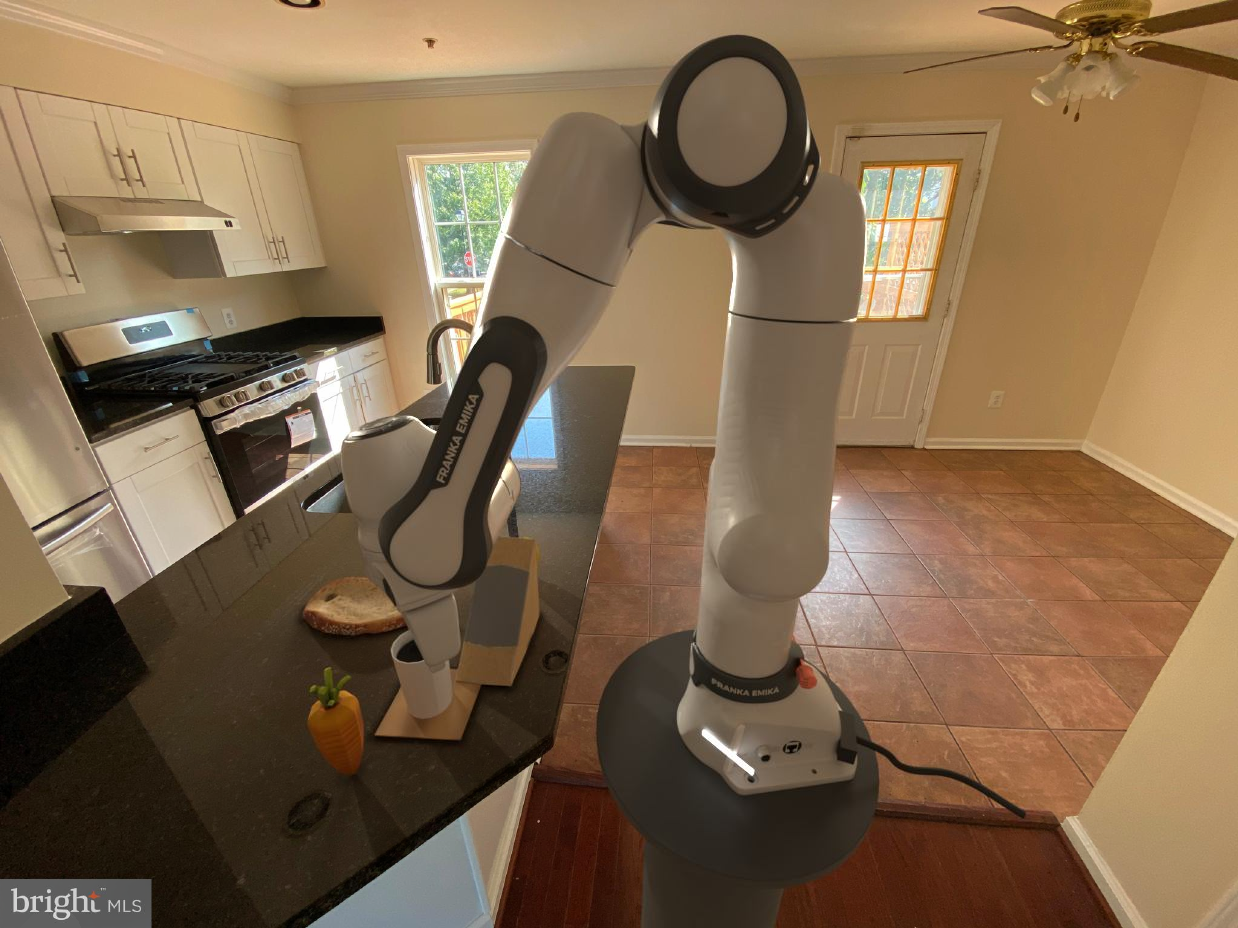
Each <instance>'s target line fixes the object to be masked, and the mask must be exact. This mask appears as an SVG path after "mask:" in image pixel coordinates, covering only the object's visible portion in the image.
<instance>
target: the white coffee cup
mask: <svg viewBox="0 0 1238 928" xmlns="http://www.w3.org/2000/svg"><path fill="white" fill-rule="evenodd" d="M390 653H391V658H392V661H393V664H394V667H395V671H396V674H397V677H398V681H399V685H400V688H401V687H402V691H403V694H404V697H405V701H406V704H407V707H408V711H409V713H410V714H411V715H412V716H413V717H415V718H419V719H427V718H432V717H434V716H437V715H439V714H440V713H442V712H443V711H444V710H445V709H447V707H448V706H449V704H450V703H451V701H452V696H453V693H452V684H451V675H450V669H451V668H450V667H451V665H450V659H449V660H447V661H445V663H446V667H445V668H444V669H443V670H440V671H438V672H436V673H431V671H430V669H429V667H428V666H427V665H426V663H425V662H424V659H423V657H422V655H421V653H420V651H419V649H418V647H417V645H416V643H415V641H414V639H413V637H412V635H411V633H410V631H409V629H408V630H407V631H405V632H403V633H401V634H400V635H399V636H398V637H397V638H396V639H395V640H394V641H393V643H392V645H391V647H390Z"/></svg>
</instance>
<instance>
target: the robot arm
mask: <svg viewBox="0 0 1238 928" xmlns="http://www.w3.org/2000/svg"><path fill="white" fill-rule="evenodd" d="M821 164H822V157H821V154H820V151H819V148H818V145H817V142H816V139H815V136H814V133H813V131H812V127H811V124H810V122H809V116H808V110H807V106H806V101H805V96H804V93H803V89H802V86H801V84H800V82H799V79H798V76H797V74H796V72H795V70H794V69H793V67H792V66H791V64H790V62H789V61H788V59H787V58H786V57H785V56H784V54H783V53H782V52H781V51H780V50H778V49H777V48H776V47H775V46H773V45H772V44H771V43H769V42H768V41H765V40H763V39H761V38H758V37H755V36H753V35H748V34H728V35H723V36H718V37H715V38H712V39H710V40H708V41H705V42H703V43H701V44H699V45H698V46H696V47H694V48H693V49H692V50H690V51H689V52H688V53H687V54H685V55H684V56H683V57H682V58H681V59H679V60H678V61H677V63H675V65H674V66H673V67H672V68H671V69H670V71H669V72H668V73H667V75H666V76H665V77H664V79H663V80H662V81H661V83H660V85H659V88H658V89H657V91H656V93H655V96H654V99H653V100H652V103H651V106H650V110H649V114H648V118H647V119H646V120H645V121H644V120H642V121H641V122H639V123H637V124H632V125H628V124H619V123H618V122H617V121H615V120H614V119H611V118H609V117H607V116H605V115H603V114H598V113H594V112H590V111H574V112H573V111H572V112H568V113H564V114H562V115H560V116H558V117H557V118H555V119H554V120H553V121H552V122H551V123H550V124H549V125H548V127H547V128H546V129H545V131H544V133H543V135H542V136H541V138H540V140H539V142H538V143H537V145H536V147H535V149H534V150H533V153H532V154H531V157H530V158H529V160H528V162H527V165H525V168H524V170H523V172H522V175H521V177H520V179H519V180H518V183H517V185H516V187H515V190H514V192H513V195H512V197H511V200H510V202H509V205H508V208H507V211H506V213H505V215H504V218H503V220H502V223H501V227H500V230H499V233H498V236H497V240H496V242H495V246H494V248H493V253H492V255H491V259H490V262H489V266H488V270H487V273H486V278H485V280H484V284H483V289H482V292H481V296H480V301H479V305H478V309H477V313H476V316H475V318H474V323H473V326H472V329H471V333H470V336H469V340H468V344H467V347H466V351H465V353H464V358H463V362H462V365H461V367H460V370H459V373H458V376H457V377H456V380H455V383H454V385H453V388H452V391H451V393H450V395H449V398H448V400H447V403H446V406H445V408H444V411H443V414H442V416H441V419H440V421H439V424H438V426H437V428H436V431H435V430H433V429H431V428H430V427H428V426H426V424H424V423H423V422H422V421H421V420H419V418H417V417H414V416H412V415H404V414H396V415H389V416H384V417H380V418H376V419H375V420H372V421H369V422H366V423H364V424H362V425H360V426H358V427H356V428H355V429H354V430H352V431H351V432H350V433H348V434H347V435H346V436H345V438H344V439H343V440H342V442H341V448H340V466H341V473H342V479H343V485H344V488H345V495H346V499H347V502H348V506H349V509H350V511H351V513H352V514H353V515H354V517H355V519H356V521H357V525H358V530H357V542H358V545H359V549H360V554H361V556H362V560H363V566H364V569H365V573H366V576H367V577H366V578H368V579H369V580H370V581H371V582H372V583H373V584H375V585H377V586H378V587H379V588H380V589H381V590H382V591H383V592H384V593H385V594H386V595H387V596H388V597H389V599H390V600H391V601H392V603H393V605H394V606H395V607H396V609H397V610H398V612H400V613H401V615H402V617H403V619H404V621H405V623H406V625H407V626H406V627H407V629H408V630H409V631H410V633H411V635H412V637H413V639H414V641H415V643H416V645H417V647H418V649H419V651H420V653H421V655H422V657H423V659H424V662H425V663H426V665H427V666H428V667H429V669H430V671H431V673H436V672H438V671H440V670H443V669H444V668H445V667H446V663H445V661H447V660H449V661H450V660H451V659H453V658H455V657H456V656H458V654H459V653H460V651H461V646H462V645H461V644H462V643H461V642H462V641H461V632H460V622H459V621H460V620H459V612H458V607H457V606H458V605H457V601H456V597H455V594H454V593H456V592H458V591H459V589H461V588H465V587H467V586H469V585H471V584H473V583H475V582H476V580H477V579H478V578H479V577H480V576H481V575H482V573H483V572H484V570H485V567H486V565H487V562H488V560H489V557H490V555H491V552H492V549H493V546H494V544H495V542H496V540H497V538H498V537H499V536H501V532H502V531H503V529H504V527H505V525H506V523H507V521H508V520H509V517H510V515H511V513H512V512H513V509H514V507H515V506H516V503H517V501H518V499H519V498H520V494H521V490H522V479H521V475H520V472H519V469H518V468H517V465H516V464H515V463H514V461H513V460H512V459H511V457H510V456H511V454H512V452H513V449H514V446H516V442H517V440H518V438H519V436H520V433H521V431H522V429H523V427H524V425H525V423H526V421H527V419H528V418H529V416H530V414H531V413H532V411H533V410H534V408H535V407H536V405H537V404H538V402H539V401H540V400H541V399H542V397H543V396H544V395H545V393H546V392H547V391H548V390H549V388H550V387H551V386H552V385H553V383H554V382H555V381H556V380H557V379H558V377H560V375H561V374H562V373H563V372H564V371H565V370H566V369H567V367H568V366H569V365H570V364H571V363H572V361H574V359H575V358H576V357H577V355H578V354H579V352H580V351H581V350H582V349H583V347H584V346H585V345H586V343H587V342H588V341H589V339H590V338H591V336H592V334H593V333H594V331H595V329H596V328H597V327H598V325H599V323H600V321H601V320H602V318H603V316H604V314H605V312H606V310H607V309H608V307H609V305H610V303H611V301H612V298H613V296H614V294H615V292H616V290H617V288H618V286H619V283H620V281H621V278H622V276H623V273H624V271H625V269H626V266H627V265H628V262H629V260H630V258H631V255H632V253H633V251H634V249H635V248H636V246H637V245H638V242H639V241H640V239H641V238H642V236H643V235H644V234H645V233H646V232H647V231H648V229H650V228H651V227H653V226H654V225H657V224H658V225H665V226H670V227H671V226H672V227H677V228H683V229H688V230H706V231H709V230H718V231H719V232H720V234H722V235H723V237H724V238H725V240H726V241H727V244H728V247H729V250H730V254H731V261H732V273H733V275H732V276H733V277H732V284H731V290H730V296H729V297H730V298H729V305H728V314H727V322H726V323H727V324H726V333H725V341H724V353H723V361H722V370H721V379H720V387H719V388H720V389H719V397H718V402H719V403H718V414H717V425H716V439H715V448H714V449H715V450H714V451H715V452H714V457H713V459H712V462H711V465H710V468H709V472H708V482H707V494H706V496H707V497H706V509H705V523H704V537H703V549H702V564H701V577H700V578H701V579H700V590H699V601H698V612H697V613H698V614H697V625H696V627H695V628H694V630H695V631H694V634H693V640H692V644H691V651H690V665H689V669H690V674H691V676H690V680H689V683H688V686H687V689H686V692H685V694H684V696H683V698H682V700H681V702H680V704H679V707H678V710H677V725H678V729H679V733H680V735H681V737H682V739H683V741H684V743H685V745H686V746H687V747H688V749H689V750H690V751H691V752H692V753H693V754H694V756H696V757H697V758H698V759H699V760H700V761H701V762H703V763H704V764H706V765H707V766H709V767H710V768H712V769H713V770H715V771H716V772H718V773H719V774H720V775H721V776H722V778H723V779H724V780H725V782H726V783H727V784H728V785H729V786H730V788H731V789H732V790H733V791H735V792H736V793H737V794H739V795H751V794H758V793H765V792H772V791H779V790H786V789H793V788H800V787H806V786H813V785H820V784H827V783H834V782H841V781H847V780H851V779H853V778H854V776H855V773H856V768H857V743H858V744H860V745H862V746H865V747H867V748H870V749H872V750H874V751H875V753H878V754H880V755H881V756H883V757H885V758H886V759H887V760H888V761H889V762H890V763H891V765H892V766H893V767H895V768H896V769H898V770H900V771H902V772H905V773H908V774H911V775H916V776H933V777H934V776H935V777H942V778H943V777H944V778H948V779H951V780H955V781H957V782H959V783H962V784H964V785H967V786H969V787H971V788H972V789H974V790H976V791H977V792H979V793H981V794H983V795H984V796H986V797H988V798H989V799H991V800H992V801H994V802H995V803H997V804H999V805H1000V806H1001V807H1003V808H1005V809H1006V810H1008V811H1009V812H1011V813H1013V814H1014V815H1016V816H1017V817H1019V818H1021V819H1022V820H1025V818H1026V816H1027V811H1025V810H1024V809H1023V808H1020V807H1019V806H1017V805H1016V804H1014V803H1012V802H1011V801H1009V800H1008V799H1006V798H1004V797H1003V796H1002V795H1000V794H998V793H997V792H996V791H994V790H992V789H990V788H989V787H987V786H986V785H984V784H982V783H980V782H979V781H977V780H975V779H973V778H970V777H969V776H967V775H964V774H962V773H960V772H957V771H954V770H951V769H947V768H942V767H932V766H915V765H909V764H906V763H903V762H901V761H900V760H899V759H898V758H897V756H895V755H894V753H892V752H891V751H890V750H888V749H887V748H885V747H884V746H882V745H880V744H878V743H876V742H873V741H872V742H871V741H869V740H866V739H864V738H861V737H859V736H857V735H856V730H855V719H854V714H851V713H847V712H844V711H842V710H841V708H840V706H839V705H838V703H837V702H836V700H835V698H834V696H833V694H832V692H831V689H830V688H829V686H828V684H827V682H826V681H825V679H824V678H823V676H822V675H821V674H820V673H819V671H818V670H817V669H815V668H814V667H813V666H811V665H809V664H807V663H806V662H804V659H805V654H804V651H803V649H802V647H801V645H799V644H798V642H797V640H796V636H795V635H794V631H795V626H796V622H797V616H798V610H799V604H800V599H801V598H802V597H804V596H806V595H807V594H809V593H811V592H812V591H813V590H814V589H816V588H817V587H818V586H819V584H820V583H821V582H822V580H823V579H824V578H825V575H826V573H827V571H828V567H829V564H830V563H829V562H830V529H831V527H830V525H831V515H832V505H833V495H834V494H833V493H834V484H835V473H836V457H837V442H838V441H837V438H838V434H837V433H838V419H839V411H840V404H841V398H842V392H843V387H844V383H845V378H846V372H847V368H848V364H849V358H850V352H851V348H852V344H853V338H854V334H855V328H856V324H857V318H858V315H859V308H860V304H861V298H862V292H863V284H864V277H865V268H866V267H865V265H866V255H867V238H868V237H867V236H868V235H867V233H868V232H867V231H868V227H867V226H868V224H867V223H868V222H867V221H868V210H867V209H868V208H867V203H866V199H865V197H864V195H863V193H862V191H861V190H860V189H859V188H858V187H857V185H856V184H854V183H853V182H852V181H850V180H848V179H846V178H844V177H842V176H840V175H838V174H835V173H831V172H829V171H828V172H827V171H820V170H821V166H822V165H821ZM811 166H813V167H812V170H809V168H810V167H811ZM748 780H752V781H753V782H754V783H750V782H749V781H748Z"/></svg>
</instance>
